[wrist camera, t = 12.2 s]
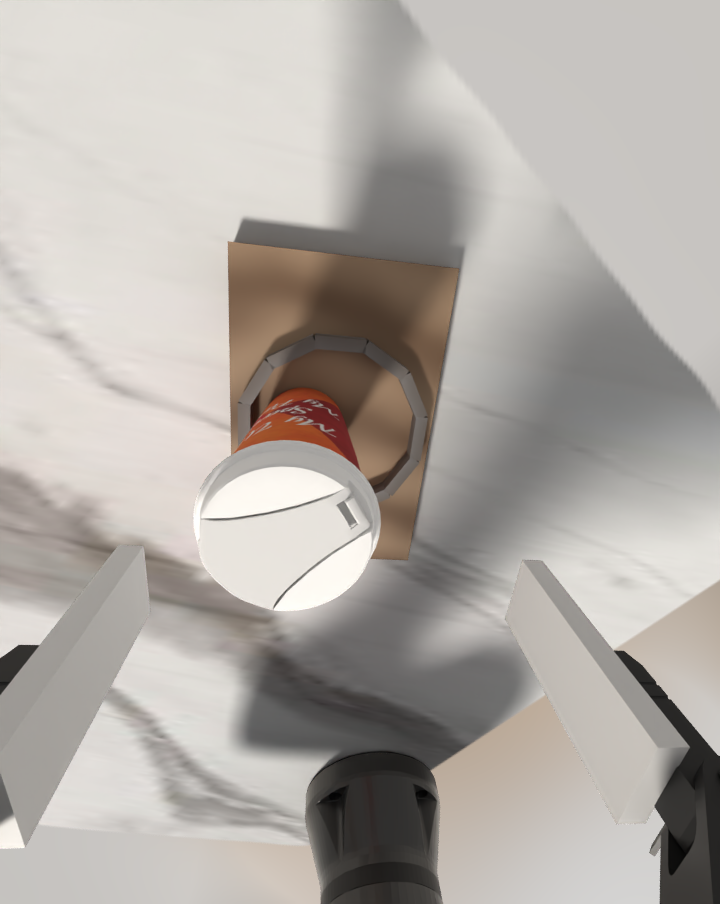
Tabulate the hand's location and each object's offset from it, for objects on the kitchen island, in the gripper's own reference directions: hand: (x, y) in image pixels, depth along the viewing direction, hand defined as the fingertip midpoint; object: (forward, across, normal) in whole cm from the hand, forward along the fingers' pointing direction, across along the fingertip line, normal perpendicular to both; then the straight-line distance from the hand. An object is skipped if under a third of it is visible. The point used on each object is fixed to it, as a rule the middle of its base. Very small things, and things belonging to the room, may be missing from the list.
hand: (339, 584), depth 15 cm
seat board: (+17, 0, 0) cm, 17 cm away
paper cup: (+16, +2, 0) cm, 16 cm away
